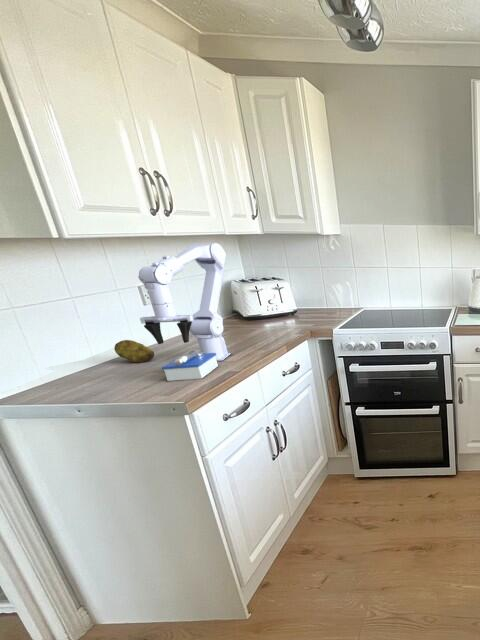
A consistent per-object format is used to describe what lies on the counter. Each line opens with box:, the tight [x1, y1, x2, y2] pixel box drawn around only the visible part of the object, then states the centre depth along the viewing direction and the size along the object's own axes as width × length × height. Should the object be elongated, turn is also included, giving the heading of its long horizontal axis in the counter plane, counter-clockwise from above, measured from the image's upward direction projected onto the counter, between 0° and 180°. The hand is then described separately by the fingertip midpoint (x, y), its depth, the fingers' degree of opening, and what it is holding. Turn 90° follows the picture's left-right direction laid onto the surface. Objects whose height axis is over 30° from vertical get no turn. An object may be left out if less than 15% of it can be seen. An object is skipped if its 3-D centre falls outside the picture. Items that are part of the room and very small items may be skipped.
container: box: [161, 353, 219, 382], centre depth 144 cm, size 15×11×5 cm
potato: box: [113, 339, 155, 363], centre depth 158 cm, size 8×13×8 cm, turn 65°
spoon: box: [174, 349, 205, 366], centre depth 142 cm, size 16×5×3 cm, turn 15°
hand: (173, 342), depth 143 cm, fingers open, 7 cm apart
